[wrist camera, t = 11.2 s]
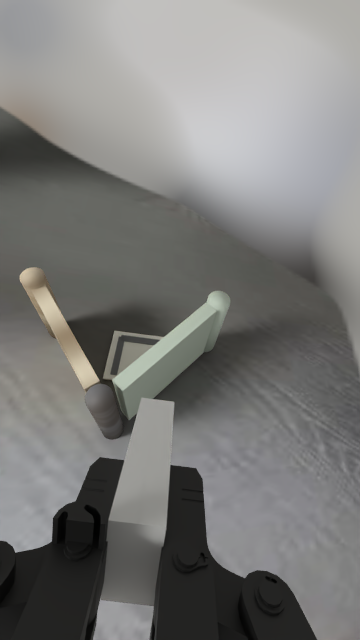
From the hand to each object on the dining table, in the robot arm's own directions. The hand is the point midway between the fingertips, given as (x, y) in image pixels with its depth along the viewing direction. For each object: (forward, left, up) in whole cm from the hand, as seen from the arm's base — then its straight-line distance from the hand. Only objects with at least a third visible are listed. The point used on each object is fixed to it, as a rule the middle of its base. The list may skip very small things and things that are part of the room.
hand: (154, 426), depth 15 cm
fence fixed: (-8, -8, -17) cm, 21 cm away
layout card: (-11, -3, -17) cm, 20 cm away
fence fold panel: (-9, +1, -17) cm, 19 cm away
